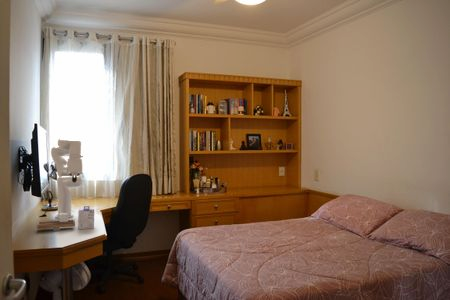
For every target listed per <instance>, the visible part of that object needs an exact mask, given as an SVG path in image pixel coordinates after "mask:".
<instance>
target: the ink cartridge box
mask: <svg viewBox="0 0 450 300" xmlns="http://www.w3.org/2000/svg"><path fill="white" fill-rule="evenodd" d="M77 218H78V219H77V229H78V230H84V229H86V230H87V229H94V227H95V226H94V225H95V209H93V208H92V209H91V208H90V206H89V205H88V206H86V205H85V206H83V209H78V215H77Z"/></svg>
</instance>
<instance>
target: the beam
mask: <svg viewBox="0 0 450 300" xmlns="http://www.w3.org/2000/svg"><path fill="white" fill-rule="evenodd" d="M36 227H37V228H36V229H37V230H45V229H46V230H47V229H52V232H60V231H61V228H74V227H76V219H68V222H62V223H60V220H51V221H50V220H49V221H48V220H47V221H37V224H36Z"/></svg>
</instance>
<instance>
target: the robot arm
mask: <svg viewBox="0 0 450 300" xmlns="http://www.w3.org/2000/svg"><path fill="white" fill-rule="evenodd" d="M81 151H82V141H81V140H80V139H78V138H77V137H74V136H72V137H71V136H62V137H60V138H58V141H57V145H56V146H53V147H52V148H51V150H50V153H51V154H50V156H51V158H52V160H53V162H54V164H55V168H56V174H57V176H58V178H57V180H56V181H57V182H56V183H57V192H58V193H57V194H58V195H57V196H58V197H57V198H58V199H57V214H56V215H55V218H57V219H60V213H68V218H72V217H74V213H72V204H73V203H72V199H73V198H72V197H73V196H72V195H73V193H72V192H71V190H70V189H75V188H80V187H81V186H82V185H83V181H82V176H81V175H83V173H84V172H83V160H82V158H83V157H84V156H83V155H82V152H81ZM65 157H68V158H67V160H66V159H65Z"/></svg>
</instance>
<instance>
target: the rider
mask: <svg viewBox="0 0 450 300" xmlns="http://www.w3.org/2000/svg"><path fill="white" fill-rule="evenodd" d="M68 220H69V217H68V213H60V218H59V221H60V223H62V222H68Z"/></svg>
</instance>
